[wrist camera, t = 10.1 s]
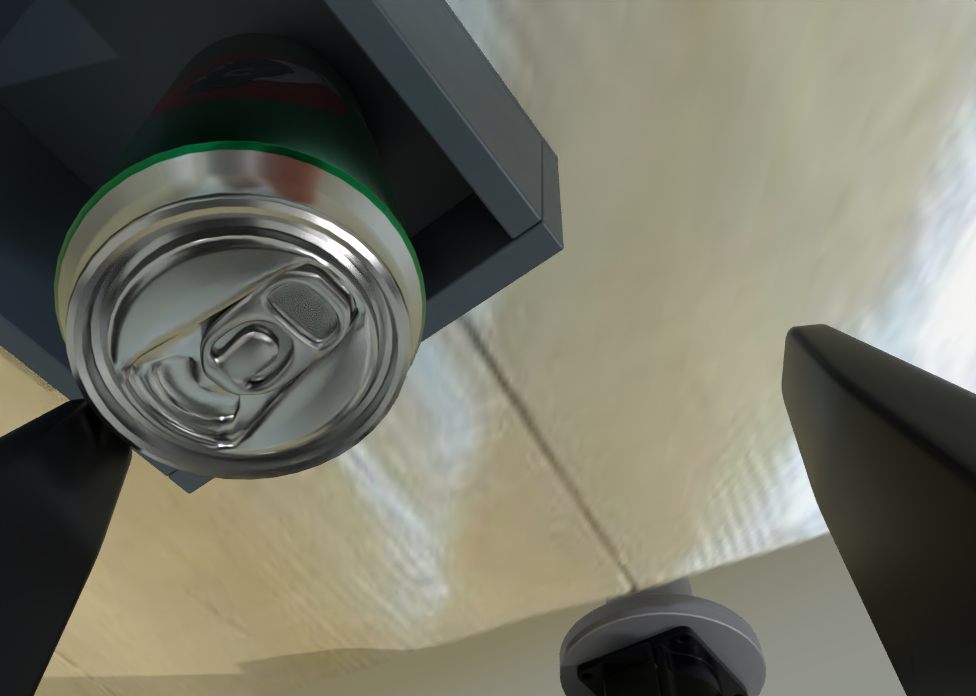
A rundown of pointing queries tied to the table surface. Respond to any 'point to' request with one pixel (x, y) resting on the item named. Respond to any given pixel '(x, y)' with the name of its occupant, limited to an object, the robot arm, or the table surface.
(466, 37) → the bin
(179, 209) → the soda can
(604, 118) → the table surface
